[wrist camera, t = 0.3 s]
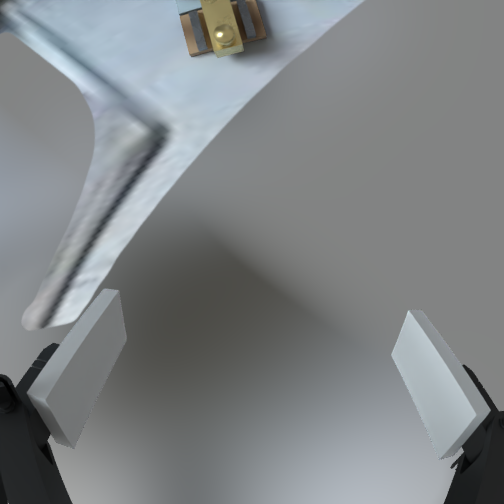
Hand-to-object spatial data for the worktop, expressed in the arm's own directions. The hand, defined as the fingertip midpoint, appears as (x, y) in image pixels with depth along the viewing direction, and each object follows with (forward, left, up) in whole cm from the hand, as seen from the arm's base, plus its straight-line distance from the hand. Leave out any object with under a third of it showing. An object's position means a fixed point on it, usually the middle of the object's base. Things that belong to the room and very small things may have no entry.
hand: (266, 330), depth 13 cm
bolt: (-21, +1, -24) cm, 32 cm away
